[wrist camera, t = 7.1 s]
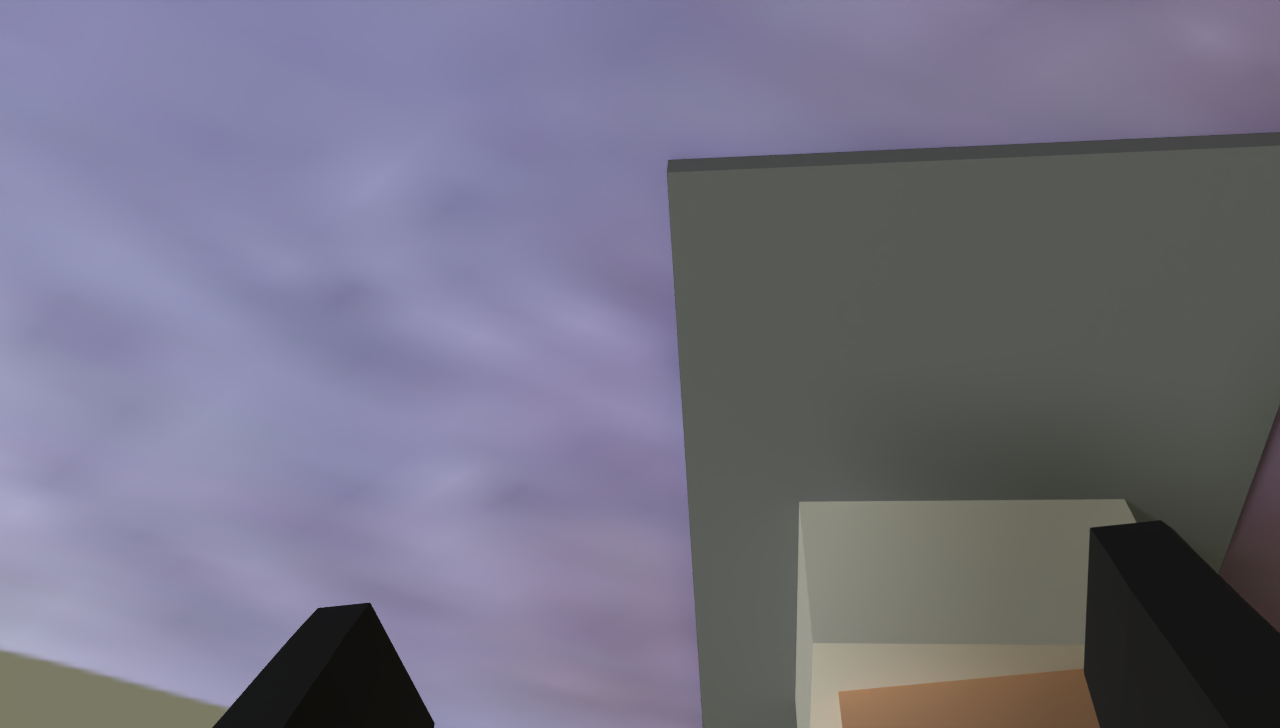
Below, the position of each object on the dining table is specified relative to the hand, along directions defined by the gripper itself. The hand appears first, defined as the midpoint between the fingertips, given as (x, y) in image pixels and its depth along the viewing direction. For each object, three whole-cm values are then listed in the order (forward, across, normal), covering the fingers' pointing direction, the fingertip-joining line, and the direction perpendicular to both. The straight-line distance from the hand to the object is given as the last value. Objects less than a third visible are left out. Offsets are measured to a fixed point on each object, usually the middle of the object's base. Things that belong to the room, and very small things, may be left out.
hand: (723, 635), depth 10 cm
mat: (+10, -4, +9) cm, 14 cm away
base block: (+10, -3, +11) cm, 15 cm away
